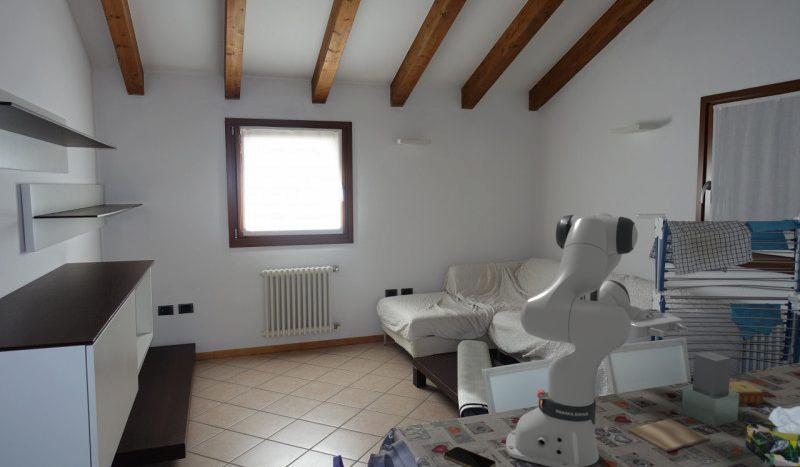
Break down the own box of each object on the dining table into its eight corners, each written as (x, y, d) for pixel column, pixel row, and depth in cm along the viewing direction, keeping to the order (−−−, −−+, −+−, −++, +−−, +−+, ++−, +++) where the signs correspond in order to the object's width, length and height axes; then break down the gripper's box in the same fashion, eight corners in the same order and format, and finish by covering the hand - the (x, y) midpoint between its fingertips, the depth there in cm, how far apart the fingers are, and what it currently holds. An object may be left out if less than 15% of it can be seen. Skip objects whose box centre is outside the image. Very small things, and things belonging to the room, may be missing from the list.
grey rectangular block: (713, 395, 146) (716, 361, 145) (692, 387, 152) (694, 354, 151) (728, 392, 149) (731, 358, 148) (707, 384, 155) (709, 351, 154)
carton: (762, 404, 161) (763, 391, 160) (711, 404, 161) (711, 391, 160) (745, 393, 169) (746, 380, 169) (695, 393, 169) (696, 380, 169)
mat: (666, 451, 131) (666, 449, 131) (628, 431, 142) (628, 429, 142) (709, 439, 138) (709, 437, 138) (669, 420, 148) (669, 418, 148)
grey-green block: (713, 427, 145) (716, 385, 144) (681, 412, 154) (683, 373, 153) (737, 420, 149) (740, 379, 148) (704, 407, 158) (706, 368, 157)
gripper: (615, 315, 169) (652, 326, 156) (660, 308, 177) (698, 318, 164) (614, 334, 169) (651, 346, 157) (659, 327, 177) (697, 338, 165)
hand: (675, 332), depth 161 cm, fingers open, 8 cm apart
